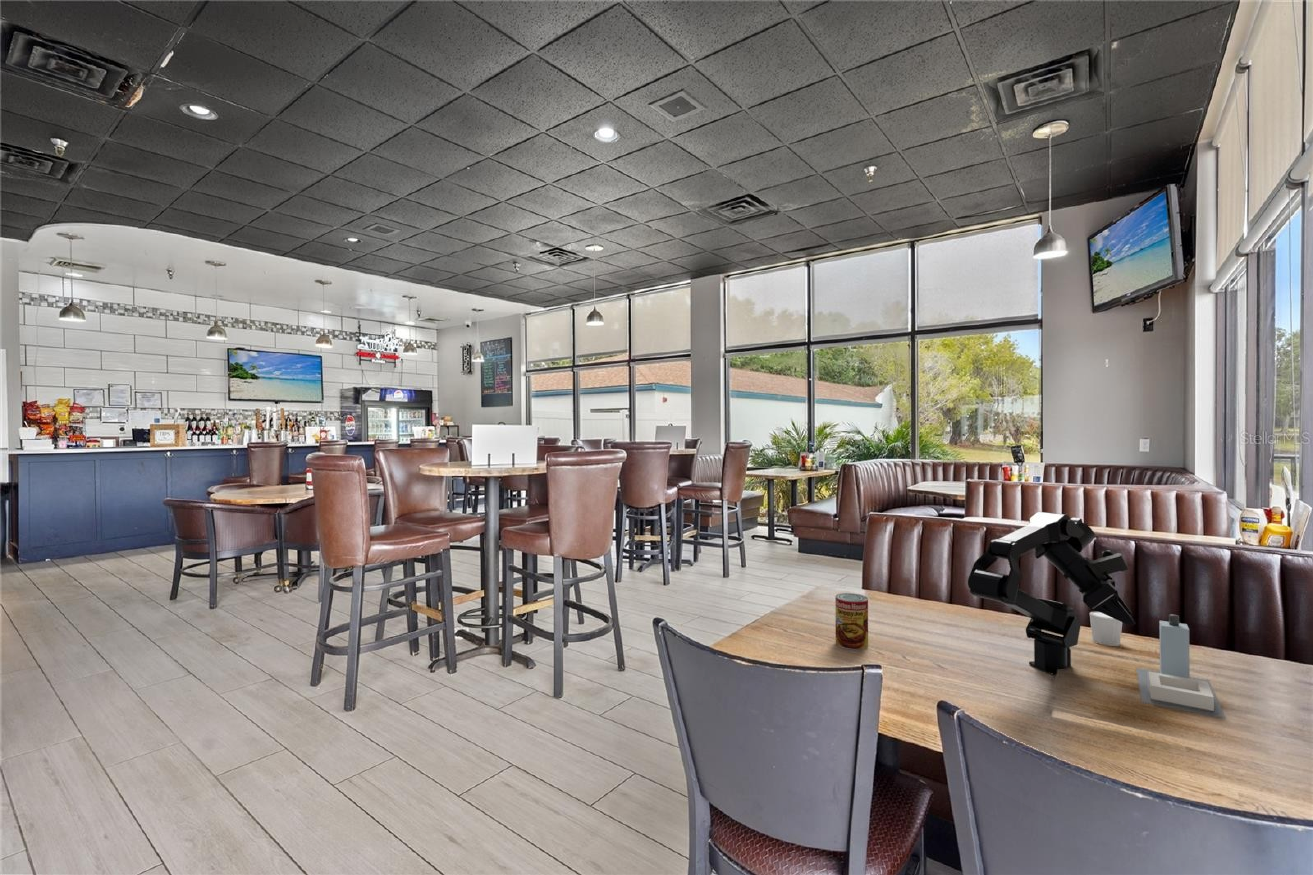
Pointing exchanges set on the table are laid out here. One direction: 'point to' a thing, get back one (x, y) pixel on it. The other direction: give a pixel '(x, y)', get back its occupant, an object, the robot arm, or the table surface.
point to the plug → (1174, 648)
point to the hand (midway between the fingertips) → (1131, 619)
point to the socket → (1180, 692)
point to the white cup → (1105, 629)
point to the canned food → (851, 621)
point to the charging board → (1145, 698)
